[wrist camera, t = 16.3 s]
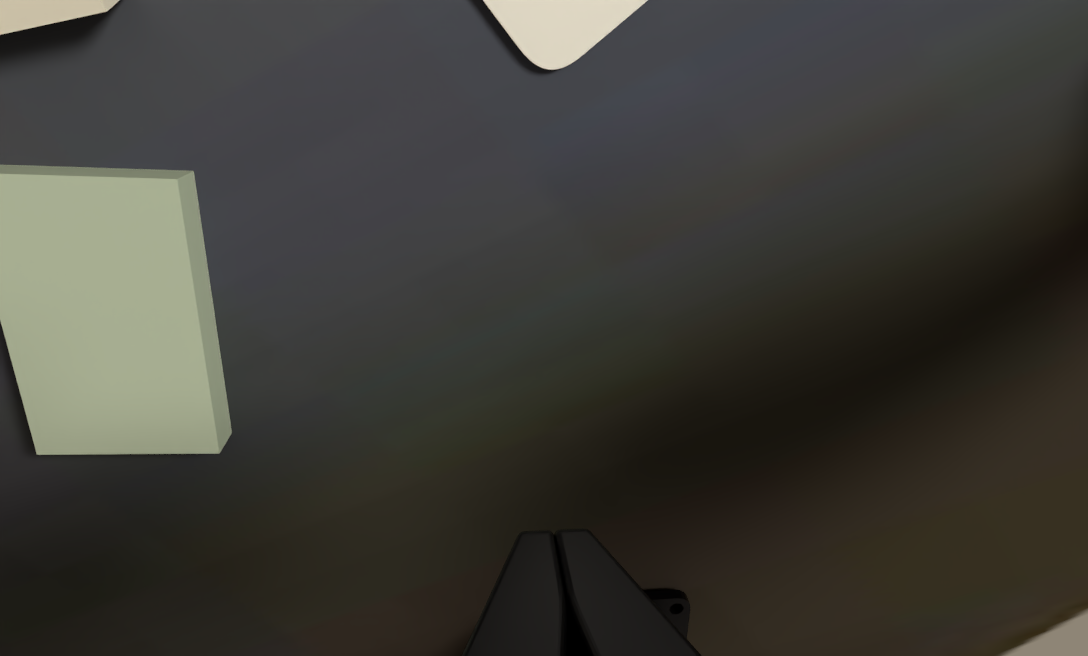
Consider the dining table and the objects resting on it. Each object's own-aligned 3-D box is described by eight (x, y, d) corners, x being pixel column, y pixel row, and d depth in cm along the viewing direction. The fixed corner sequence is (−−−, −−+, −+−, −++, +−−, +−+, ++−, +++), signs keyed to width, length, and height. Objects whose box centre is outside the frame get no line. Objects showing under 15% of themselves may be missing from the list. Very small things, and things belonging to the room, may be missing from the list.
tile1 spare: (219, 453, 21) (177, 179, 17) (37, 454, 20) (-40, 172, 17) (236, 425, 22) (200, 167, 19) (67, 425, 21) (1, 160, 18)
